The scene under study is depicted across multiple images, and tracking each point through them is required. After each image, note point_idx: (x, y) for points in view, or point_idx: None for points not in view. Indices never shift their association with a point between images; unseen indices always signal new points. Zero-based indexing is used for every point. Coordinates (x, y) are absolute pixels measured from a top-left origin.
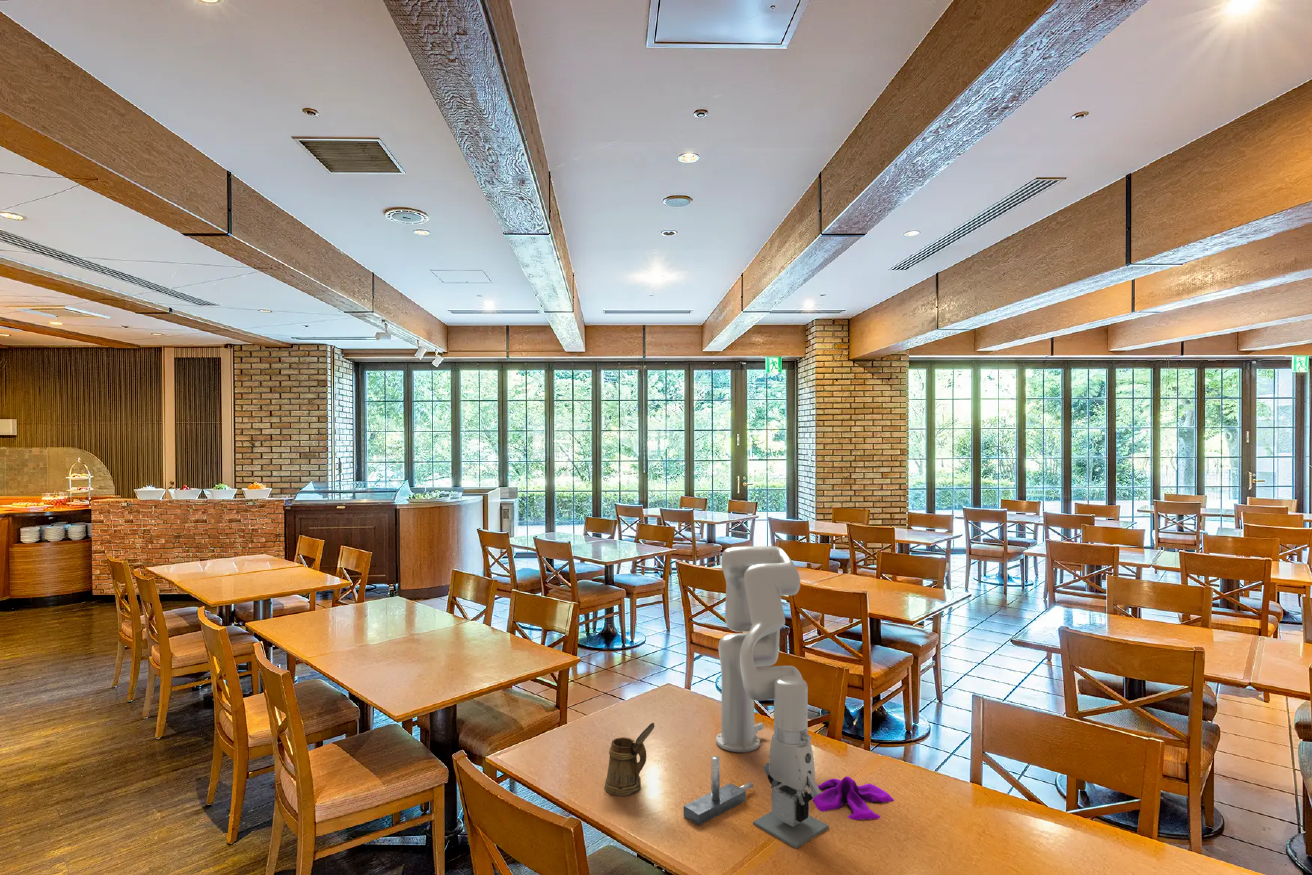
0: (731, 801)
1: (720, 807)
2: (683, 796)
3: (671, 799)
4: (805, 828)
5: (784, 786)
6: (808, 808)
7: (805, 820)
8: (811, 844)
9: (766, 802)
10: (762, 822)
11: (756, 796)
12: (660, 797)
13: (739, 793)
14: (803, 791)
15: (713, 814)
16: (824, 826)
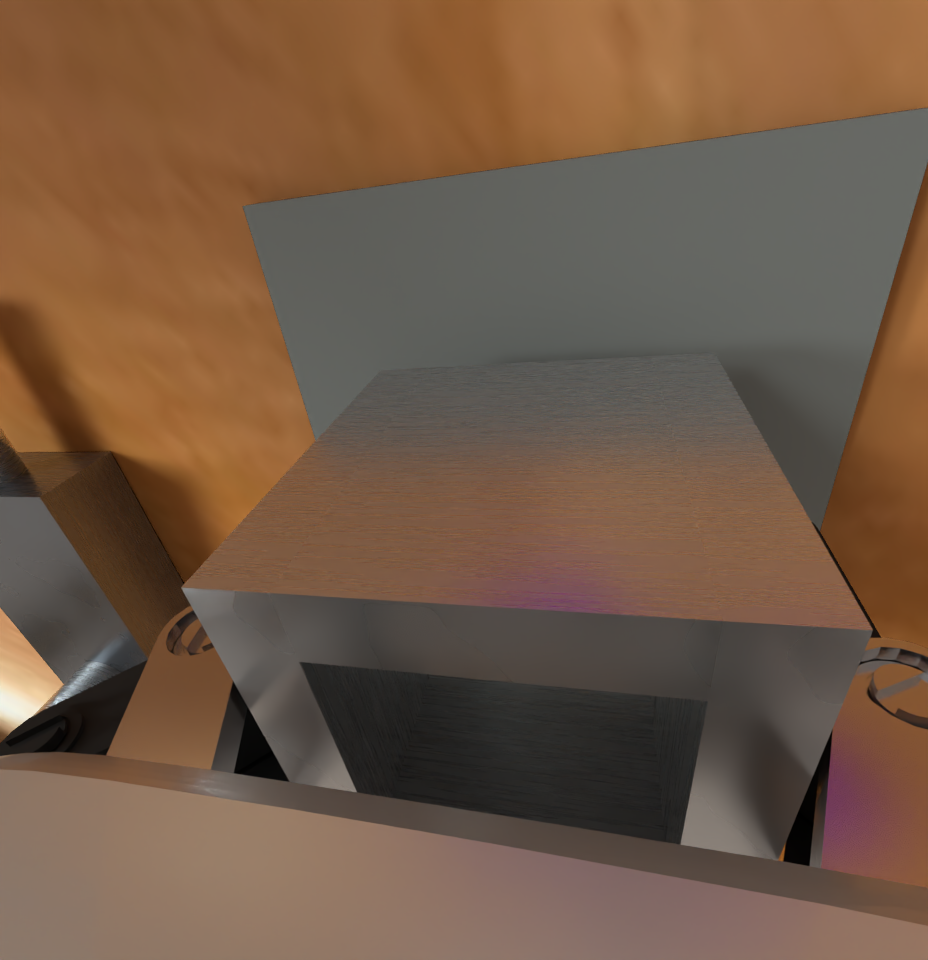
0: (145, 609)
1: None
2: (17, 642)
3: (40, 684)
4: None
5: (347, 724)
6: (851, 587)
7: (621, 301)
8: (866, 521)
9: (157, 330)
10: None
11: (51, 330)
12: (20, 697)
13: (73, 552)
14: (814, 823)
15: None
16: (893, 195)
